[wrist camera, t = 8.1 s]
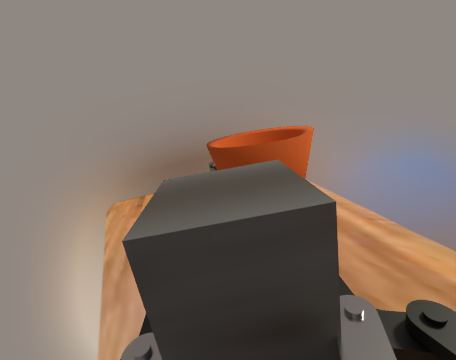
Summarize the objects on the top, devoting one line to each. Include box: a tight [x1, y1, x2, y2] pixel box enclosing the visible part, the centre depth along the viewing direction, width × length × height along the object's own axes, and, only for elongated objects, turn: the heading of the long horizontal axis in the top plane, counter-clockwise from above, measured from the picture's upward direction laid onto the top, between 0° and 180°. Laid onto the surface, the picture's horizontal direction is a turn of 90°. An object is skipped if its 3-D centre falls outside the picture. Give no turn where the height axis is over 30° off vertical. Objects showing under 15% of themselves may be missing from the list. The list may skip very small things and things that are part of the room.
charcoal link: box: [122, 160, 341, 360], centre depth 9 cm, size 5×5×11 cm
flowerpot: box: [207, 126, 314, 179], centre depth 59 cm, size 25×25×20 cm
